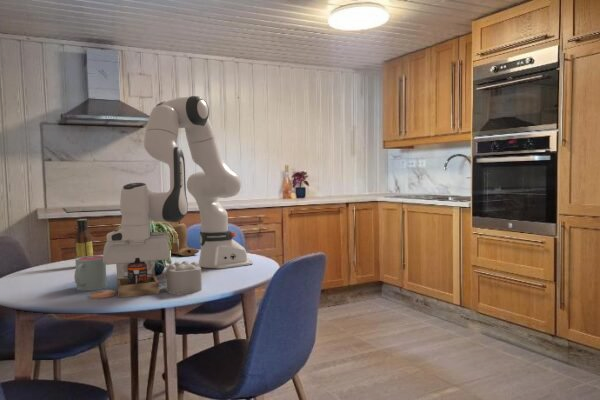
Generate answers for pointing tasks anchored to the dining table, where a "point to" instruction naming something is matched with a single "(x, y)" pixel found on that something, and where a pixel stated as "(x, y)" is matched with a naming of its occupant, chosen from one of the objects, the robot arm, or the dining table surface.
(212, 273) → the dining table surface
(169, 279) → the lumpy-topped squat cylinder
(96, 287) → the mug
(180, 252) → the brown boot
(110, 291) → the saucer
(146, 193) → the robot arm
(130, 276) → the supplement bottle
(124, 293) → the cold frame
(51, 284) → the dining table surface
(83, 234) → the sauce bottle
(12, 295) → the dining table surface
